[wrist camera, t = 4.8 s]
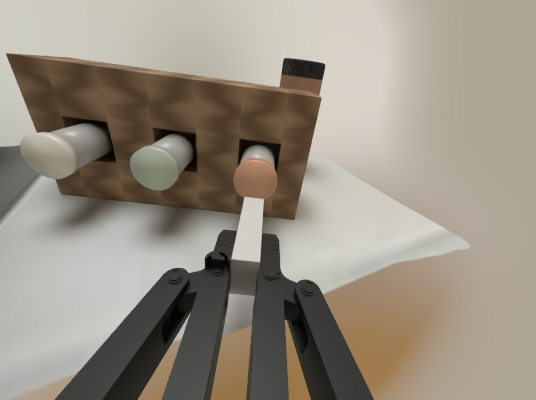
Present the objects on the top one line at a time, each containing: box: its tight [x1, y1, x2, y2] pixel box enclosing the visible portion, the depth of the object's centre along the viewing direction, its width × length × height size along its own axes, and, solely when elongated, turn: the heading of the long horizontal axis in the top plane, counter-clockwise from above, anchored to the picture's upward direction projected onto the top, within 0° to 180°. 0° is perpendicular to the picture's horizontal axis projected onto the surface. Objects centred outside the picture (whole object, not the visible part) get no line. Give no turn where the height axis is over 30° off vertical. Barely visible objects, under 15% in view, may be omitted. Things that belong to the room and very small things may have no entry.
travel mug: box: [280, 58, 325, 96], centre depth 44 cm, size 8×8×20 cm
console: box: [6, 54, 321, 219], centre depth 30 cm, size 32×8×16 cm, turn 89°
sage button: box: [130, 133, 195, 190], centre depth 25 cm, size 4×7×4 cm, turn 179°
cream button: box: [20, 122, 113, 179], centre depth 24 cm, size 4×7×4 cm, turn 179°
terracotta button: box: [233, 143, 277, 200], centre depth 25 cm, size 4×7×4 cm, turn 179°
